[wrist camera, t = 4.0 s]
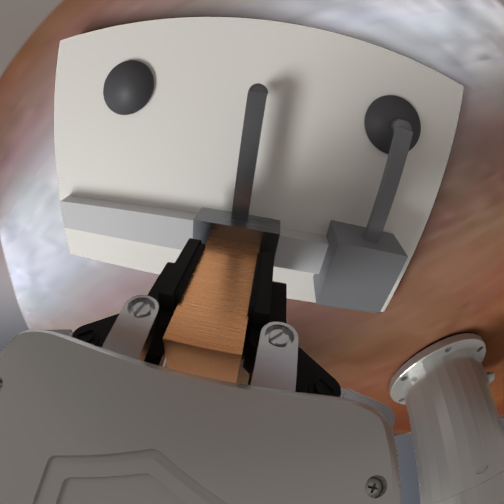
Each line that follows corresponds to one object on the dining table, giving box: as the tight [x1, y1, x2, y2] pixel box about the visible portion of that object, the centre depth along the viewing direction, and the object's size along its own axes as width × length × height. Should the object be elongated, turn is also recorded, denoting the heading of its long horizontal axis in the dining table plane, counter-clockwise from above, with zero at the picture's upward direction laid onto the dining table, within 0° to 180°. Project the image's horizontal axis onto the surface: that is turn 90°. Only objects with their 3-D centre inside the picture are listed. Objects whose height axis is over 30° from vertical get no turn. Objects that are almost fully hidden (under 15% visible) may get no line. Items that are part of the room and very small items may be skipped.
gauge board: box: [54, 17, 464, 313], centre depth 13 cm, size 24×16×4 cm, turn 82°
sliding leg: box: [163, 83, 280, 383], centre depth 10 cm, size 4×10×8 cm, turn 172°
